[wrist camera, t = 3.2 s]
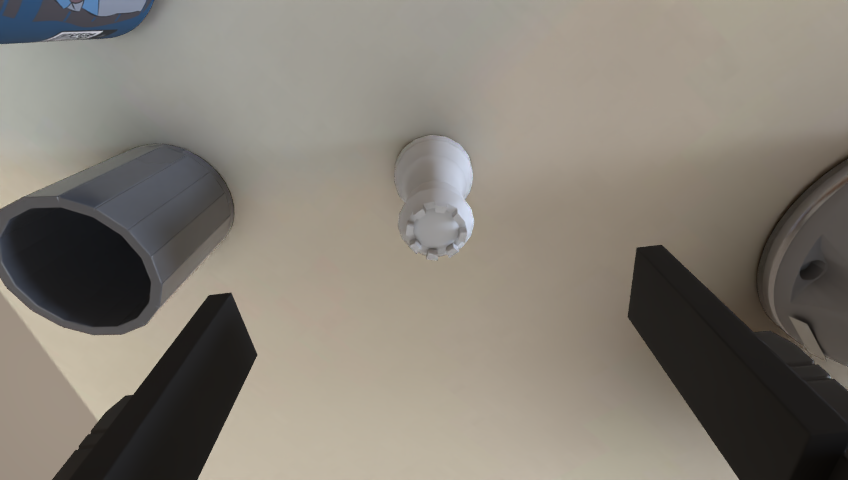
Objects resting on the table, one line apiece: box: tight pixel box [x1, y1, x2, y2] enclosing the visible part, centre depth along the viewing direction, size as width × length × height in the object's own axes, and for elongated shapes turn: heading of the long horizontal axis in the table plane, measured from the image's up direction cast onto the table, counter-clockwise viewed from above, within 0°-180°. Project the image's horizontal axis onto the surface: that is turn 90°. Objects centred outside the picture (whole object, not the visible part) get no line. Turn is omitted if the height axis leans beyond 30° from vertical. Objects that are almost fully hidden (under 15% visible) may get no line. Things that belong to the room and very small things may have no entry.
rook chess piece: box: [394, 135, 474, 260], centre depth 21 cm, size 4×4×8 cm
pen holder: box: [0, 144, 234, 335], centre depth 22 cm, size 7×7×8 cm
